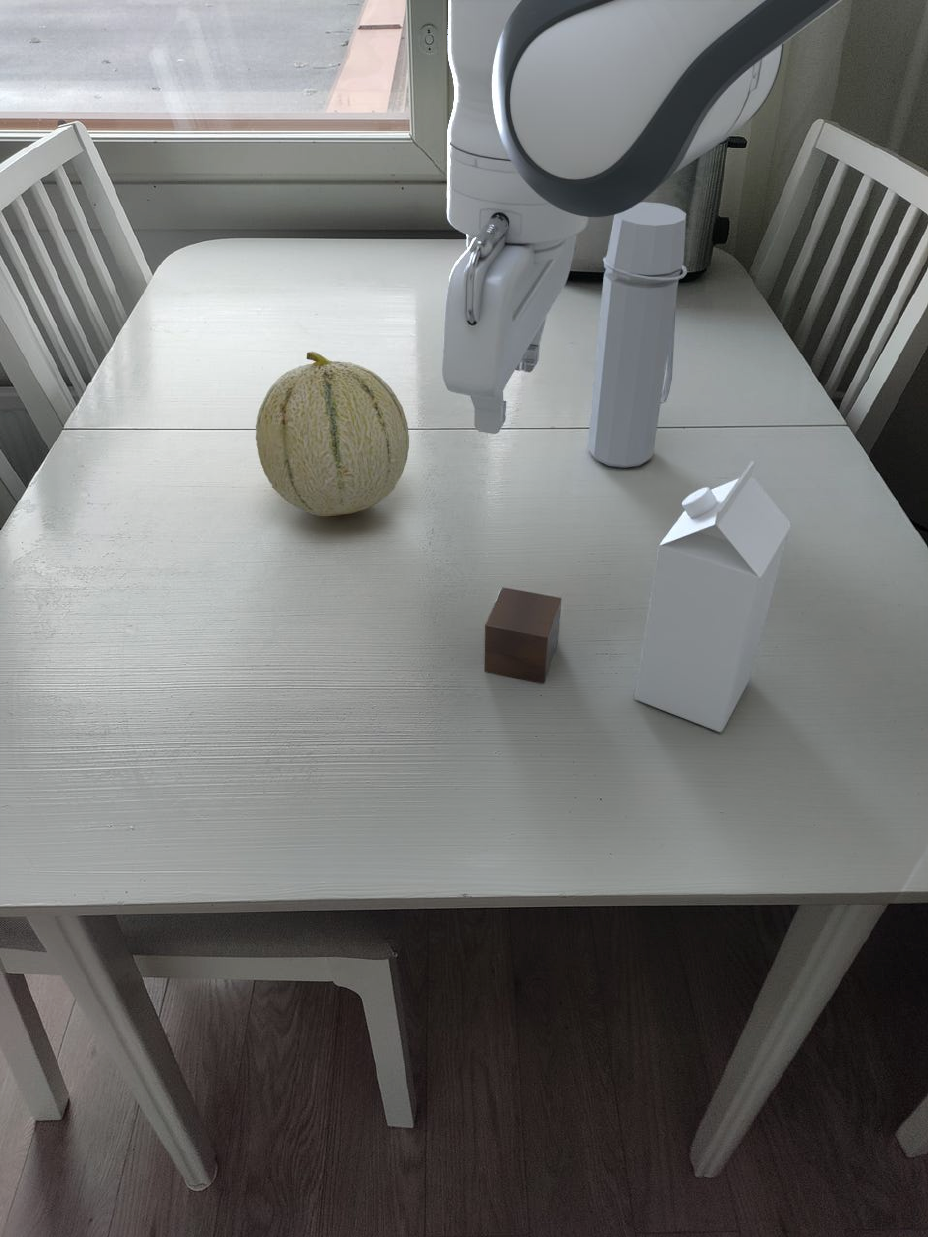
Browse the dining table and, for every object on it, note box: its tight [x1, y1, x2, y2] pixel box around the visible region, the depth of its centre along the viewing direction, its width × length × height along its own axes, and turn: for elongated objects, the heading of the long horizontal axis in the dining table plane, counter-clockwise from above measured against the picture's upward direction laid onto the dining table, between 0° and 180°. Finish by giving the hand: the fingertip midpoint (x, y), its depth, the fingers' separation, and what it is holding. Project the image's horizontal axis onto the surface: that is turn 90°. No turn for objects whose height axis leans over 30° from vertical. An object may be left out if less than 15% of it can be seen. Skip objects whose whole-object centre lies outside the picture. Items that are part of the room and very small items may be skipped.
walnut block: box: [483, 586, 562, 684], centre depth 77 cm, size 5×5×5 cm
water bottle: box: [587, 201, 688, 469], centre depth 95 cm, size 9×8×25 cm
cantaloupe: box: [255, 351, 410, 517], centre depth 91 cm, size 15×15×15 cm
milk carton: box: [634, 460, 792, 733], centre depth 69 cm, size 7×7×19 cm
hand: (507, 395), depth 68 cm, fingers open, 8 cm apart
